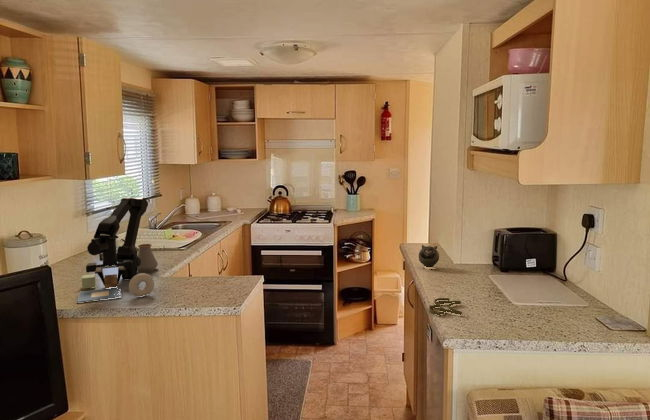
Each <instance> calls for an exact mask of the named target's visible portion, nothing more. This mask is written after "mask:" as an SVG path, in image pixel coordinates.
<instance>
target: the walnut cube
mask: <svg viewBox="0 0 650 420" xmlns="http://www.w3.org/2000/svg"><path fill="white" fill-rule="evenodd" d="M117 278H118V273H116V274H114V273H113V274H106V275H105V274H104V280H105V286H104V289H105V288H109V287H116V286H119V284H117Z"/></svg>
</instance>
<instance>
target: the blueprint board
mask: <svg viewBox="0 0 650 420" xmlns="http://www.w3.org/2000/svg"><path fill="white" fill-rule="evenodd" d="M119 289H120V287H118V289H117V288H111V289H105V288H104V289H94V290H84V291H83V290H82V291H79V294H78V297H77V302H76V304H77V303H78V302H86V301H93V300H100V299H108V298H115V297H119V296H121V297H122V294H121V295H119V294H118V293H119V292H118V291H120V290H119ZM114 294H115V295H114ZM117 294H118V295H117Z"/></svg>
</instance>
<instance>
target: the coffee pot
mask: <svg viewBox="0 0 650 420" xmlns="http://www.w3.org/2000/svg"><path fill="white" fill-rule="evenodd" d="M120 241H121V243H124V241H125V238H124V239H123V238H121V239H120ZM152 246H153V245H152V244H151V243H143V244H141V243H140V244H139V245H137V247H136V246H135V247H136V249H137V256H138V257H139V258H140V259H141V264H140V266H137V273H138V272H139V273H150V272H153V271H155V269H157V267H158V265H159V263H158V261H157V259H156V257H155V255H154V254H153V253H154V252H153V251H152V249H151V247H152Z"/></svg>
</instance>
